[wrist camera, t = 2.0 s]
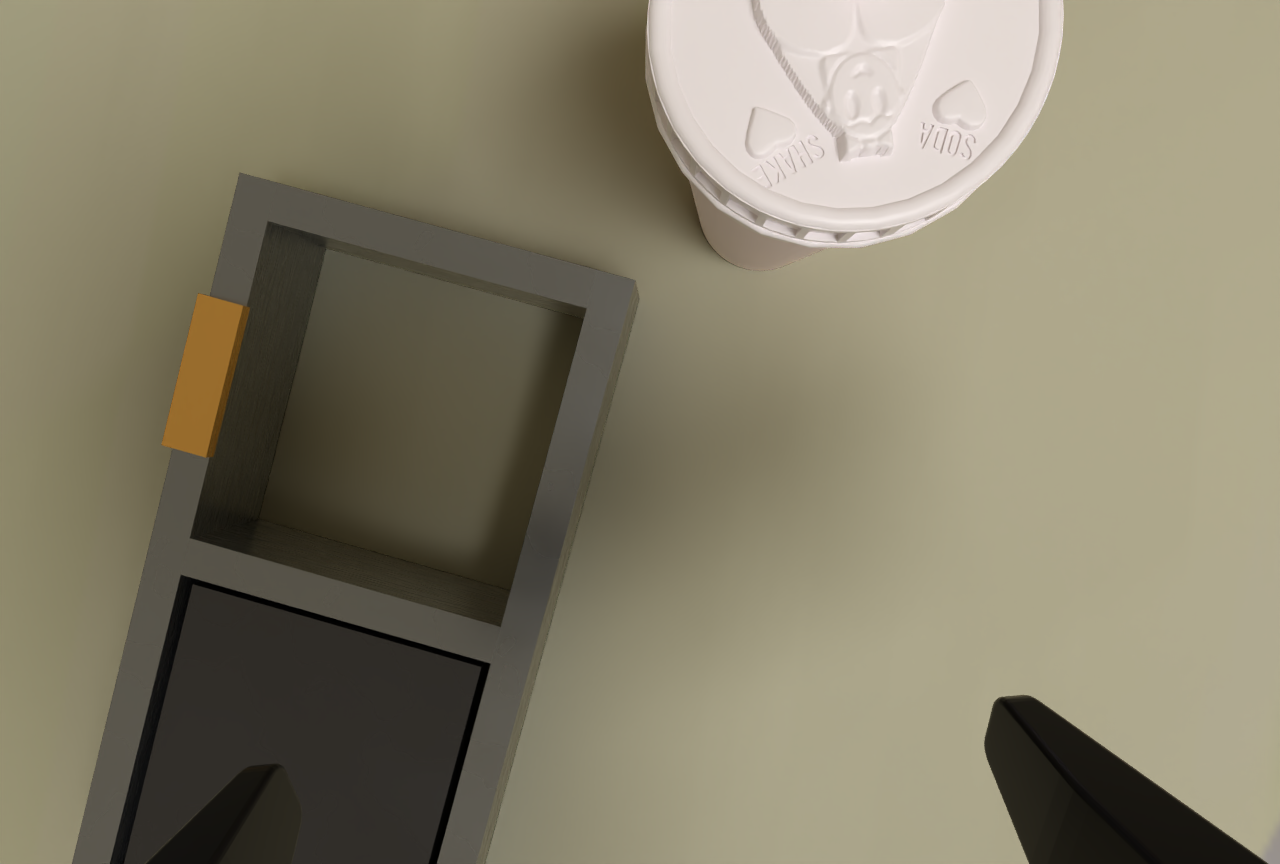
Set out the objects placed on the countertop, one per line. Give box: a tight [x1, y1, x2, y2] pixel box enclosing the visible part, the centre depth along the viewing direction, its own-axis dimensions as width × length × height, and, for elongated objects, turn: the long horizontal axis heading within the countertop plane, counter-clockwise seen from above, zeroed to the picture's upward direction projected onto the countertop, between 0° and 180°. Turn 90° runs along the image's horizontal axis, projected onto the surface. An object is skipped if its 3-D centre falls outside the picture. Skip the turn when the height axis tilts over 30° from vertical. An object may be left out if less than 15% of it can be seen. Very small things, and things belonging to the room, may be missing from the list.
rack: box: [72, 173, 639, 864], centre depth 19 cm, size 11×20×3 cm, turn 165°
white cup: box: [645, 0, 1064, 271], centre depth 13 cm, size 6×6×14 cm
